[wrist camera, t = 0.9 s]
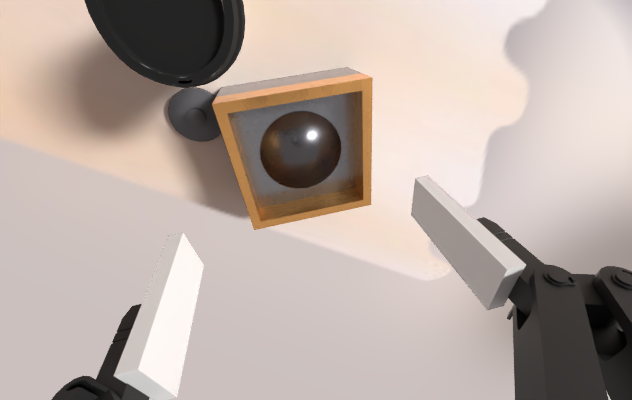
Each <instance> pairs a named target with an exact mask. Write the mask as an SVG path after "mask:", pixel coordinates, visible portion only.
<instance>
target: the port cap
mask: <svg viewBox="0 0 632 400" xmlns="http://www.w3.org/2000/svg"><path fill="white" fill-rule="evenodd" d="M215 98H216V97H215V96H214V95H213V94H211V93H210V92H208V91H206V90H204V89H200V88H194V87H191V88H185V89H183V90H181V91H179V92H178V93H177V94H175V95H174V96H173V97H172V99H171V101H170V103H169V107H168V114H169V118H170V121H171V123H172V125H173V126H174V128H175V129H176V130H177V131H178V132H179V133H180V134H181V135H183V136H184V137H186V138H188V139H191V140H194V141H209V140H212V139H214V138H215V137H217V136H218V135H219V134H220V133H221V130H220V127H219V124H218V121H217V118H216V115H215V112H214V109H213V106H212V103H213V101H214V100H215Z"/></svg>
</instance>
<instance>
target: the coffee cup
mask: <svg viewBox="0 0 632 400" xmlns="http://www.w3.org/2000/svg"><path fill="white" fill-rule="evenodd" d="M85 3H86V6H87V9H88V12H89V14H90V16H91V18H92V20H93V22H94V24H95V26H96V28H97V30H98V31H99V33H100V34H101V36H102V37H103V39H104V40H105V42H106V43H107V45H108V46H109V47H110V48H111V49H112V51H113V52H114V53H115V54H116V55H117V56H118V57H119V59H121V60H122V61H123V62H124V63H125V64H126V65H127V66H129V67H130V68H131V69H132V70H134V71H136V72H137V73H139V74H140V75H142V76H144V77H146V78H149V79H151V80H153V81H156V82H159V83H162V84H166V85H170V86H175V87H182V88H188V87H196V86H200V85H205V84H208V83H210V82H212V81H214V80H216V79H218V78H219V77H220V76H221V75H223V74H224V73H225V72H226V71H227V70H228V69H229V68H230V67H231V65H232V64H233V63H234V62H235V60H236V58H237V56H238V54H239V52H240V50H241V46H242V42H243V39H244V30H245V15H244V5H243V1H242V0H85Z"/></svg>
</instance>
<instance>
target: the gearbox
mask: <svg viewBox="0 0 632 400" xmlns="http://www.w3.org/2000/svg"><path fill="white" fill-rule="evenodd" d="M212 106H213V109H214V112H215V115H216V118H217V121H218V124H219V127H220V130H221V133H222V136H223V139H224V142H225V145H226V148H227V151H228V154H229V156H230V159H231V162H232V165H233V168H234V171H235V174H236V177H237V180H238V183H239V186H240V189H241V192H242V195H243V198H244V201H245V204H246V207H247V210H248V213H249V216H250V219H251V222H252V225H253V228H254V230H256V229H261V228H266V227H270V226H275V225H279V224H284V223H289V222H293V221H298V220H303V219H307V218H312V217H316V216H321V215H326V214H330V213H335V212H339V211H344V210H349V209H353V208H358V207H363V206H367V205H371V153H372V77H370V76H367V75H365V74H362V73H360V72H357V71H355V70H353V69H350V68H348V67H346V68H340V69H334V70H328V71H321V72H315V73H309V74H303V75H296V76H290V77H284V78H278V79H271V80H265V81H259V82H253V83H246V84H240V85H234V86H228V87H222V88H221V89H220V91H219V93H218V94H217V96H216V98H215V100H214V101H213V103H212Z"/></svg>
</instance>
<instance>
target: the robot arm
mask: <svg viewBox="0 0 632 400" xmlns="http://www.w3.org/2000/svg"><path fill="white" fill-rule="evenodd" d="M411 215H412V216H413V218H414V219H415V220H416V221H417V223H418V224H419V225H420V227H421V228H422V229H423V230H424V232H425V233H426V234H427V235H428V237H429V238H430V239H431V240H432V242H433V243H434V244H435V245H436V247H437V248H438V249H439V250H440V252H441V253H442V254H443V255H444V257H445V258H446V259H447V260H448V262H449V263H450V264H451V265H452V267H453V268H454V269H455V270H456V272H457V273H458V274H459V275H460V276H461V278H462V279H463V280H464V282H465V283H466V284H467V285H468V287H469V288H470V289H471V290H472V292H473V293H474V294H475V296H477V298H478V299H479V300H480V302H481V303H482V304H483V306H484V307H485V308H486V309H487V310H490V309H494V308H497V307H501V306H504V304H505V302H506V301H507V299H508V298H509V299H510V300H511V301H512V302H513V303H514V305H513V307H512V309H511V310H510V312H509V314H508V317H507V319H509V320H510V319H511V317H512V316H513V343H514V376H515V400H608V396H607V392H608V395H609V396H610V399H611V400H632V272H631V271H629V270H626V269H624V268H619V267H615V266H607V267H604V268H601V269H600V270H599V272H598V273H597V274H596V275H588V274H571V273H569V272H568V271H566V270H564V269H562V268H560V267H557V266H553V265H545V264H544V263H542V262H541V261H540V260H538V259H537V258H536V257H535V256H534V255H532V254H531V253H530V252H529V251H528V250H527V249H526V248H524V247H523V246H522V245H521V244H520V243H518V242H517V241H516V240H515V239H513V238H512V237H511V236H510V235H509V234H508V233H505V231H504V230H503V229H502V228H501V227H500V226H498V225H497V224H496V223H494V222H492V221H490V220H488V219H486V218H484V217H483V218H479V219H475V218H474V217H473V216H472V215H471V214H470V213H469V212H468V211H467V210H465V209H464V208H463V207H462V206H461V205H460V204H459V203H458V202H457V201H455V200H454V199H453V198H452V197H451V196H450V195H449V194H448V193H447V192H446V191H444V190H443V189H442V188H441V187H440V186H439V185H438V184H437V183H436V182H435V181H433V180H432V179H431V178H430V177H429V176H428V175H427V176H423V177H419V178H415V185H414V194H413V203H412V212H411ZM203 267H204V265H203V264H202V262H201V260H200V259H199V258H198V256H197V254H196V252H195V251H194V249H193V248H192V246H191V244H190V243H189V241H188V240H187V238H186V236H185V235H184V233H179V234H174V235H170V236H168V238H167V241H166V243H165V246H164V248H163V251H162V254H161V256H160V259H159V261H158V264H157V266H156V269H155V271H154V274H153V277H152V279H151V282H150V284H149V287H148V290H147V292H146V294H145V297H144V300H143V302H142V304H139V305H135V306H132V307H131V308H130V310H129V311H128V312H127V313H126V315H125V316H124V317H123V319H122V321H121V323H120V325H119V328H118V330H117V333H116V335H115V337H114V339H113V344H111V346H110V348H109V351H108V353H107V355H106V358H105V360H104V362H103V365H102V367H101V369H100V371H99V374H98V376H97V378H96V380H95V379H94V378H92V377H90V376H82V377H79V378H76V379H74V380H72V381H71V382H69V383H68V384H66V385H65V386H64V387H63V388H62V389H61V390H60V391H59V392H57V393H56V395H55V396H54V397H53V399H52V400H149V398H150V399H152V400H169V399H172V398H176V397H177V395H178V390H179V385H180V380H181V375H182V370H183V365H184V360H185V355H186V350H187V345H188V341H189V336H190V331H191V326H192V321H193V316H194V311H195V306H196V301H197V296H198V291H199V286H200V281H201V276H202V271H203ZM606 391H607V392H606Z"/></svg>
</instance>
